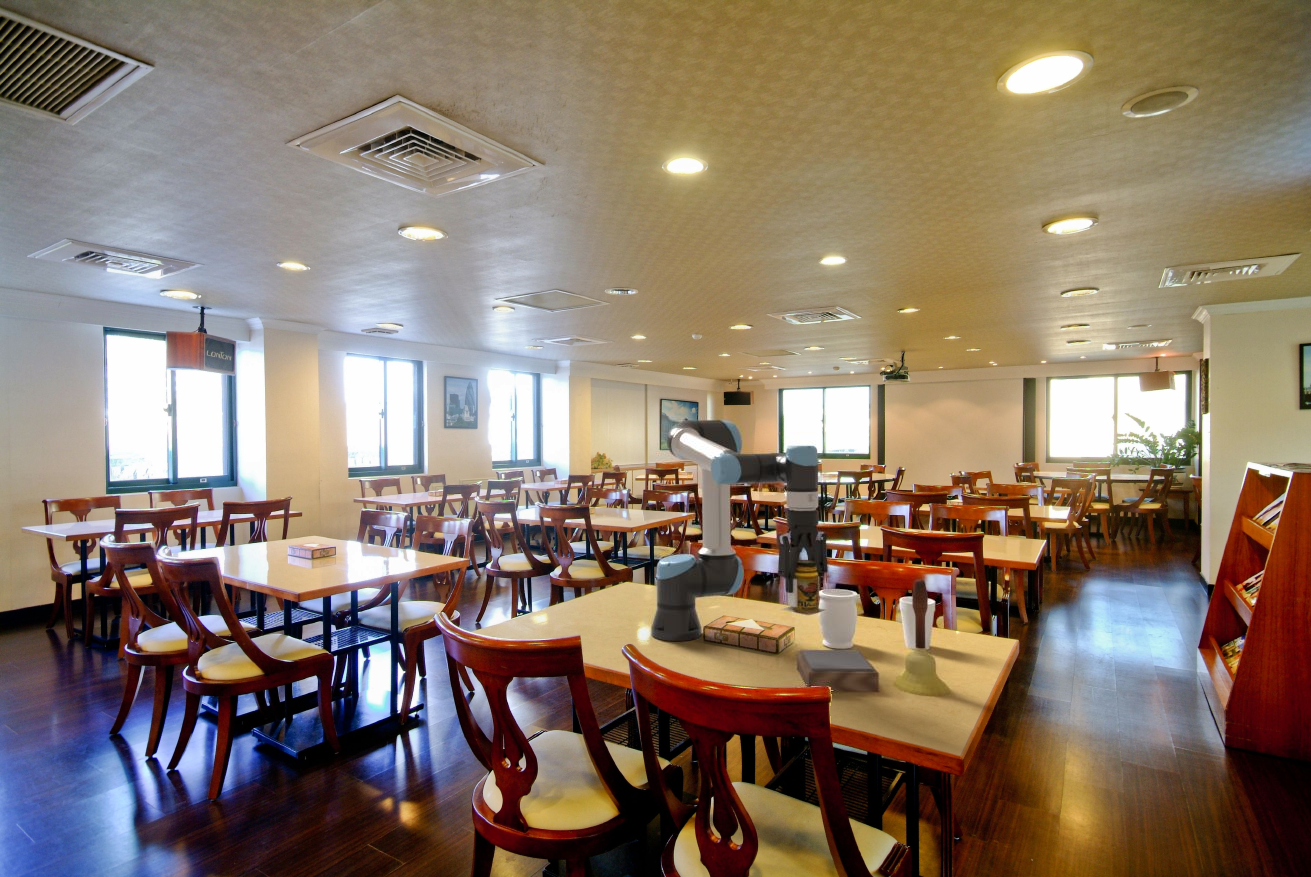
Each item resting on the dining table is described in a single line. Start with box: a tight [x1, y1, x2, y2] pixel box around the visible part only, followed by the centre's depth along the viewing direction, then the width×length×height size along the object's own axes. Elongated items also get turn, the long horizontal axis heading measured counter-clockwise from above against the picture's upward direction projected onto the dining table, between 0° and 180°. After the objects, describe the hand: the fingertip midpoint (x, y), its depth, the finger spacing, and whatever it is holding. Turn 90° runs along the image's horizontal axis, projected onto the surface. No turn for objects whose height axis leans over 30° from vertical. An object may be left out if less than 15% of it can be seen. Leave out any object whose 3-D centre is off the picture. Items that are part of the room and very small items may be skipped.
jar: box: [818, 588, 858, 650], centre depth 192 cm, size 11×10×15 cm
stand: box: [796, 649, 880, 693], centre depth 164 cm, size 16×16×5 cm
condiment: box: [780, 559, 826, 616], centre depth 163 cm, size 7×8×12 cm
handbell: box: [892, 579, 950, 697], centre depth 159 cm, size 12×12×25 cm
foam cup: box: [898, 596, 936, 651], centre depth 190 cm, size 10×9×13 cm
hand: (803, 604), depth 163 cm, fingers closed on condiment, 6 cm apart
